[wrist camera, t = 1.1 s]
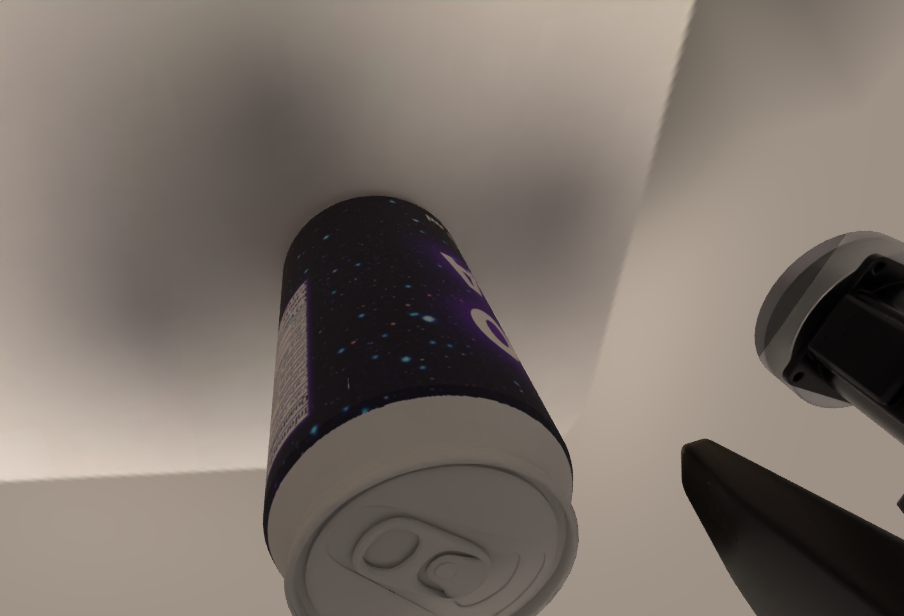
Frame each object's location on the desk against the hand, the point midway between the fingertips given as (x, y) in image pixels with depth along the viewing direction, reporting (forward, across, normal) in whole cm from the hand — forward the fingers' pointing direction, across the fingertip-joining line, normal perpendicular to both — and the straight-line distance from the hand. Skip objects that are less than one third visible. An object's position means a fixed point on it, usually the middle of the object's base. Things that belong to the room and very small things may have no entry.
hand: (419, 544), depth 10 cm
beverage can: (+12, 0, +1) cm, 12 cm away
